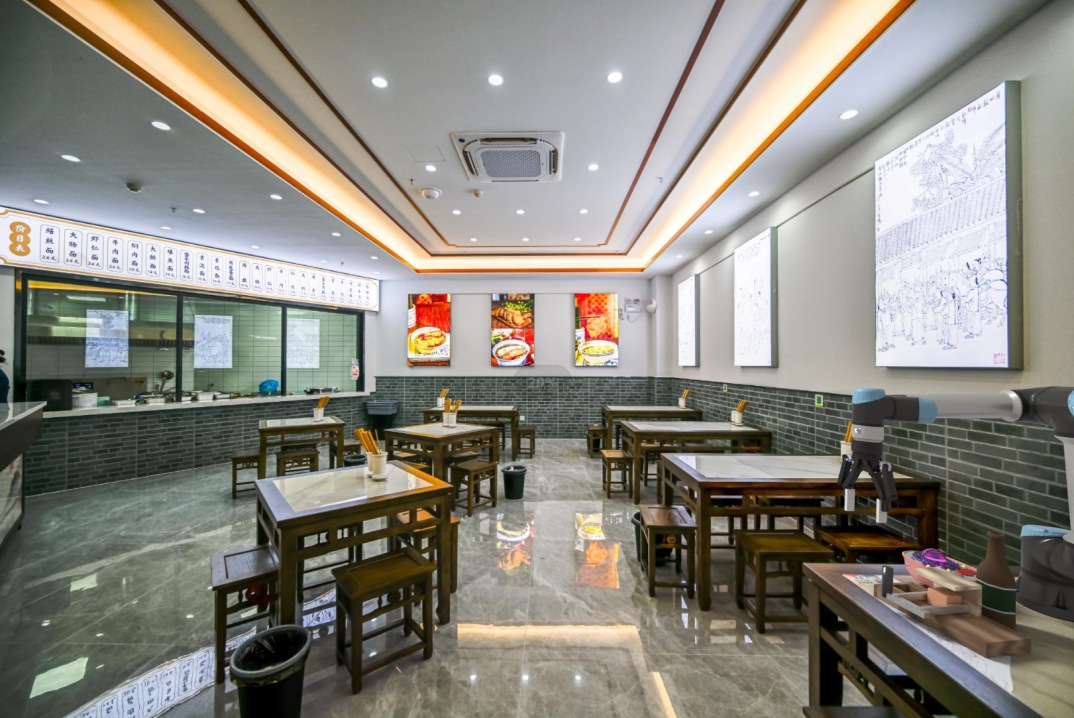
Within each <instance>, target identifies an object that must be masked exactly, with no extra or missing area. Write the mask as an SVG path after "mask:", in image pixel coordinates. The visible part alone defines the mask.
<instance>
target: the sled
mask: <svg viewBox="0 0 1074 718" xmlns="http://www.w3.org/2000/svg"><path fill="white" fill-rule="evenodd" d="M893 583H894V567H892V566H890V565H886V564H882V566H881V584H882V594H881V595H882V597H884V598H887V599H888V600H890V601H892V602H894V603H896V604H898V605H900V606H901V607H903V608H905V609H907V610H909V611H911V612H912V613H914V614H916V615H918V616H920V617H922V618H924V619H928V618H930V616H933V615H944V614H956V613H967V612H969V604H967V603H959V604H947V605H934V606H922V607H919V606H917V605H916V604H914V603H912V602H911V601H924V600H927V597H928V591H922V592H908V593H893Z"/></svg>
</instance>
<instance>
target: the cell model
mask: <svg viewBox="0 0 1074 718" xmlns="http://www.w3.org/2000/svg"><path fill="white" fill-rule="evenodd" d="M901 554H902V556H903V559H904V566H905V565H911V566H905V568H906V570H907V572H908V573H909V575H910V576H911V578H912V579H914V580H916V581H917V582H918V583H920V584H922V585H924V586H927V587H929V588H932V587H934V581H931V580H929V579H927V578H925V577H923V576H920V575H918V574H916V573H914V572H913V568H930V567H939V568H942V569H944V570H947V571H949V572H951V573H954V574H956V575H959V576H961V577H963V578H966V579H968V580H971V581H973V582H975V583H976V572H977V567H974V566H971V565H968V564H966V563H965V562H962V561H959V560H958V559H957V560H956V559H954V558H952V557H948V556H946V555H945V554H944V552H941V551H940V550H938V549H935V548H926V549H924V550H921V551H920V550H905V551H902V553H901Z"/></svg>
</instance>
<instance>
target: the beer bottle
mask: <svg viewBox="0 0 1074 718" xmlns="http://www.w3.org/2000/svg"><path fill="white" fill-rule="evenodd" d="M986 536H987V545H986V546H987V547H986V554H985V557H984V560H982V561H981V562H980V563H979V564H978V566H977V567H976V569H977V572H976V583H978V584H980V585H982V608H981V615H983V616H985V617H987V618H990V619H992V620H994V621H996V622H998V623H1000V624H1002V625H1004V626H1006V627H1009V628H1011V629H1013V630H1015V631H1016V626H1017V625H1016V624H1017V623H1016V622H1017V621H1016V620H1017V619H1016V618H1017V601H1016V578H1015V576H1014V573H1013V571H1012V570H1011V569H1010V567H1009V566H1008V563H1007V557H1006V543H1005V541H1007V537H1006V535H1005V534H1004V533H1001V532H997V531H991V530H990V531H987V533H986Z"/></svg>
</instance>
